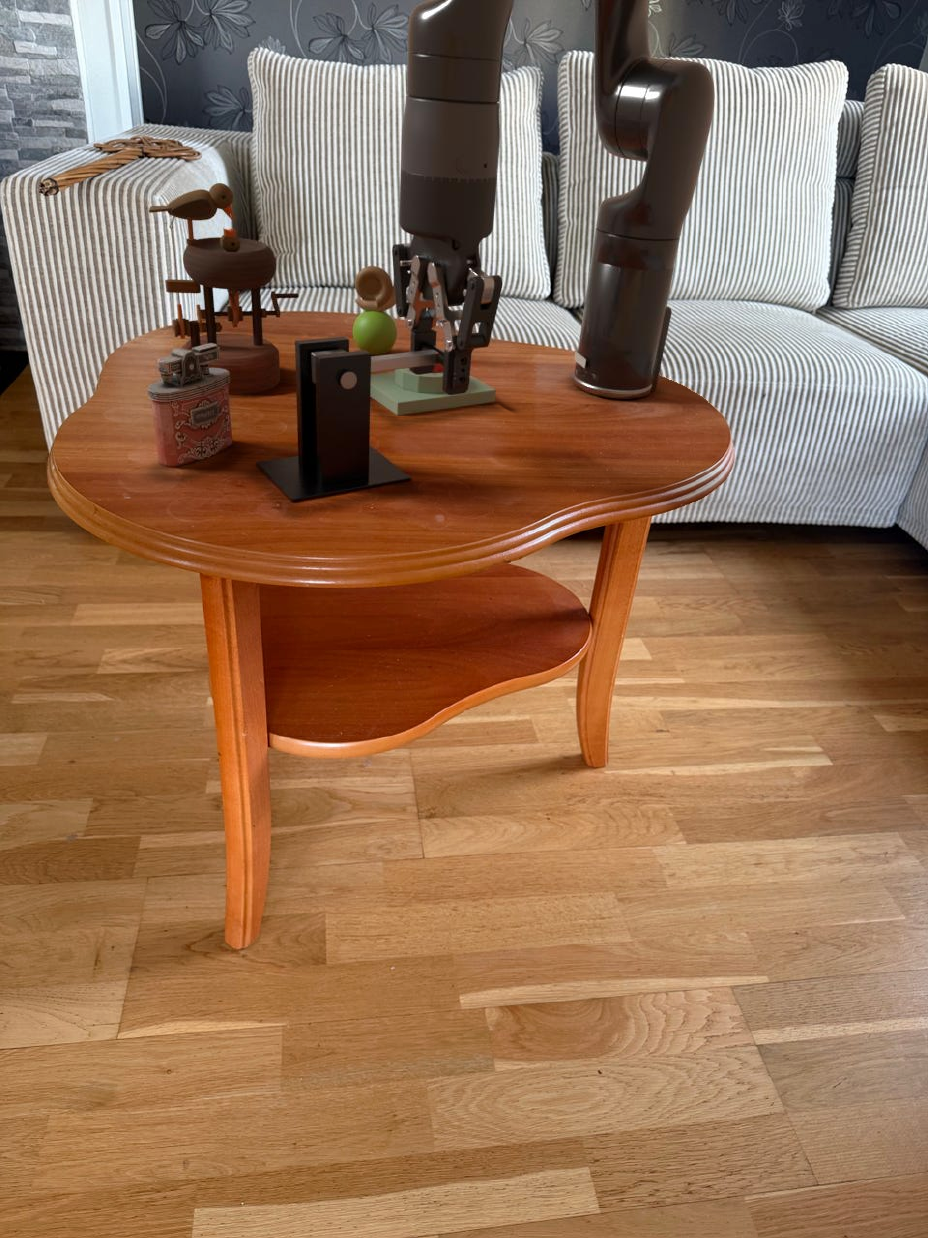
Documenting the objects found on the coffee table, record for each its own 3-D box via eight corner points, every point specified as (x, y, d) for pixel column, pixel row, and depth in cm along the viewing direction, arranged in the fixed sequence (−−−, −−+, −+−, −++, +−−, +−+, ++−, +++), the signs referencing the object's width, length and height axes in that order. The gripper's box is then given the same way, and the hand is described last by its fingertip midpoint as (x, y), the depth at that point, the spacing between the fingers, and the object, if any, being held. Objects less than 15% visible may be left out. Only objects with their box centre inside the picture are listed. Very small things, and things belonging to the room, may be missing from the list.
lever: (429, 360, 78) (430, 333, 77) (458, 377, 74) (460, 349, 73) (304, 376, 72) (303, 347, 71) (330, 395, 69) (329, 365, 67)
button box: (451, 383, 101) (453, 349, 99) (494, 409, 95) (497, 373, 93) (357, 395, 95) (358, 358, 93) (397, 423, 89) (398, 385, 87)
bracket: (369, 456, 81) (371, 328, 75) (410, 490, 76) (417, 355, 69) (256, 474, 76) (248, 338, 70) (292, 512, 71) (287, 368, 64)
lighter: (176, 481, 74) (163, 364, 68) (148, 470, 75) (133, 354, 70) (244, 454, 80) (236, 343, 74) (217, 444, 81) (208, 335, 75)
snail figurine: (402, 363, 106) (406, 259, 99) (349, 359, 106) (350, 254, 99) (405, 350, 110) (409, 249, 104) (355, 346, 110) (356, 245, 104)
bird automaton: (185, 402, 89) (157, 184, 79) (158, 378, 97) (130, 178, 88) (323, 387, 96) (314, 185, 87) (287, 365, 104) (275, 179, 95)
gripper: (543, 180, 64) (519, 403, 73) (443, 154, 74) (433, 354, 83) (457, 181, 60) (443, 415, 70) (363, 154, 70) (362, 362, 80)
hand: (437, 381), depth 77 cm, fingers closed on lever, 5 cm apart
